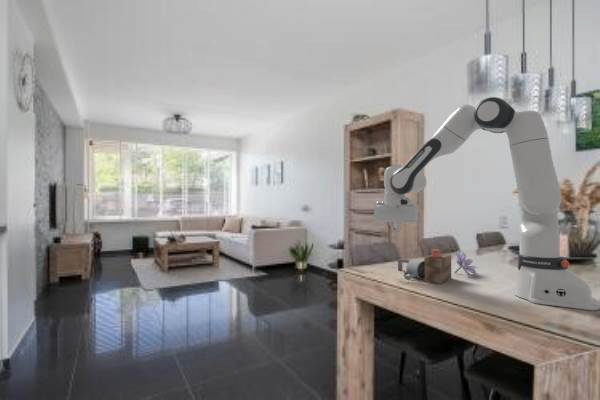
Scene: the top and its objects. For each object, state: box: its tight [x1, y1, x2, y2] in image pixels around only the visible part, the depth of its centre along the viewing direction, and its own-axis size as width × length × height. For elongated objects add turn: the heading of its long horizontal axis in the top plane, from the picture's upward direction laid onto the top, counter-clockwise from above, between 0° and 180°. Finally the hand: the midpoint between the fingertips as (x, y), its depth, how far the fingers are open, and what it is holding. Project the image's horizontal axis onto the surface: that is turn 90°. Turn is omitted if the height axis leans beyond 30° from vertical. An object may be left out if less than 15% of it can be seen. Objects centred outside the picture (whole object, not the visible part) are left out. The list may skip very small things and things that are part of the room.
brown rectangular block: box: [423, 253, 452, 286], centre depth 134 cm, size 6×14×10 cm, turn 138°
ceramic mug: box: [403, 259, 425, 280], centre depth 139 cm, size 11×8×8 cm
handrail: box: [397, 258, 411, 271], centre depth 149 cm, size 19×2×5 cm, turn 48°
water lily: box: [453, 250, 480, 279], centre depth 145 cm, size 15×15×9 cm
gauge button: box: [430, 248, 441, 258], centre depth 132 cm, size 3×3×6 cm
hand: (395, 231), depth 147 cm, fingers closed
